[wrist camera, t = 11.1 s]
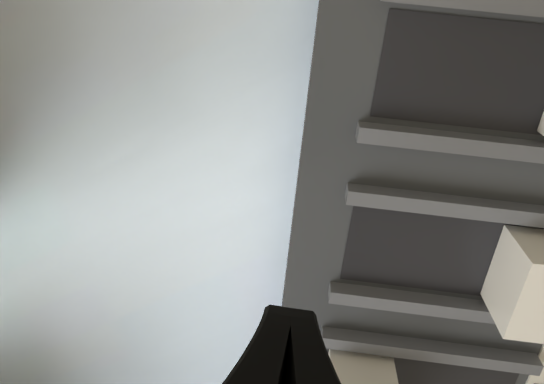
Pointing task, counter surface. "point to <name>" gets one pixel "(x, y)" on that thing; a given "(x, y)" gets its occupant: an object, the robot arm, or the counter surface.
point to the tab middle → (517, 284)
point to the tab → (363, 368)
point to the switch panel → (418, 181)
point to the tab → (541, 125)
